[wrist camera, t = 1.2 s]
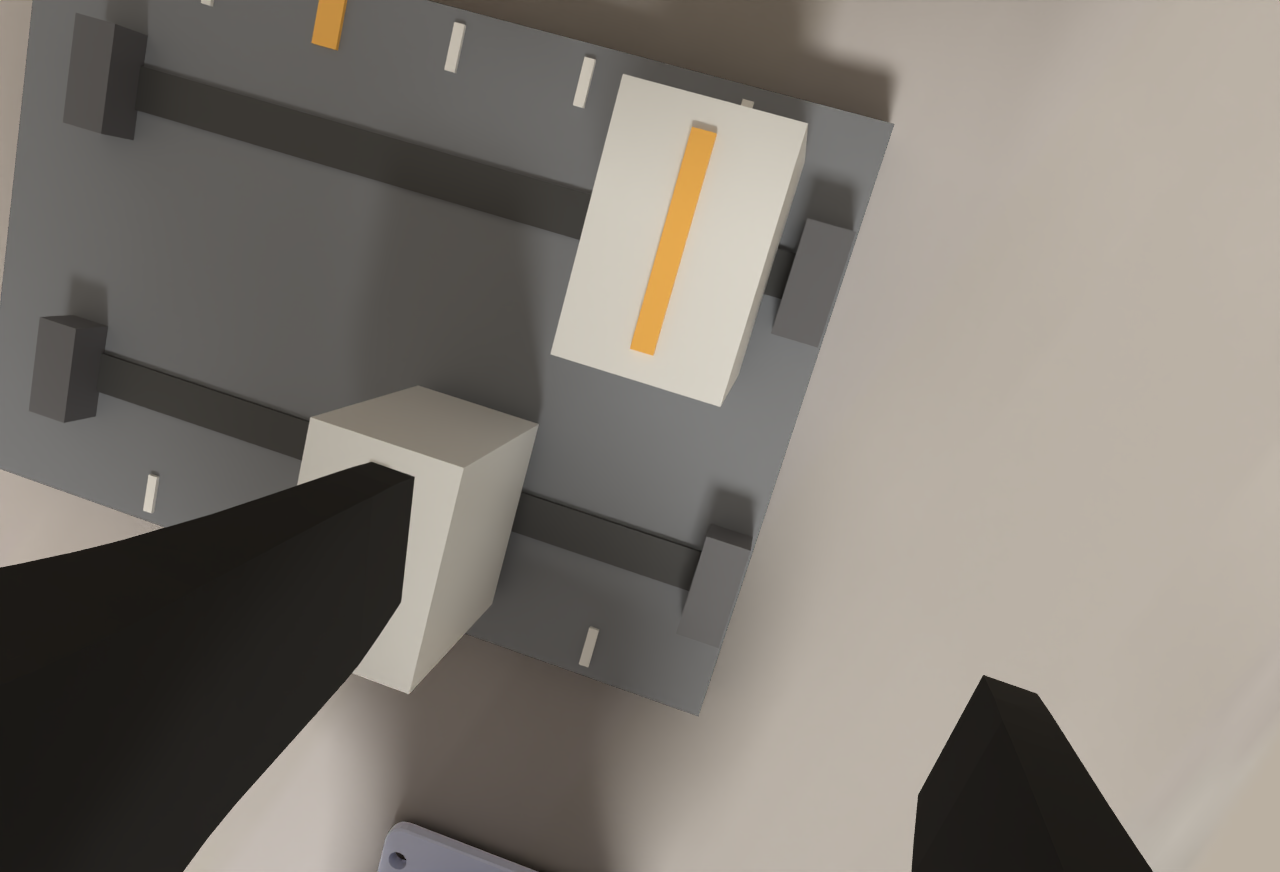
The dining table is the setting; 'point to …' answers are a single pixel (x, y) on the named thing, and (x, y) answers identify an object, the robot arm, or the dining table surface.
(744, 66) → the dining table surface
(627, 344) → the fader knob
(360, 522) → the robot arm
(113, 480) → the console board
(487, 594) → the fader knob
